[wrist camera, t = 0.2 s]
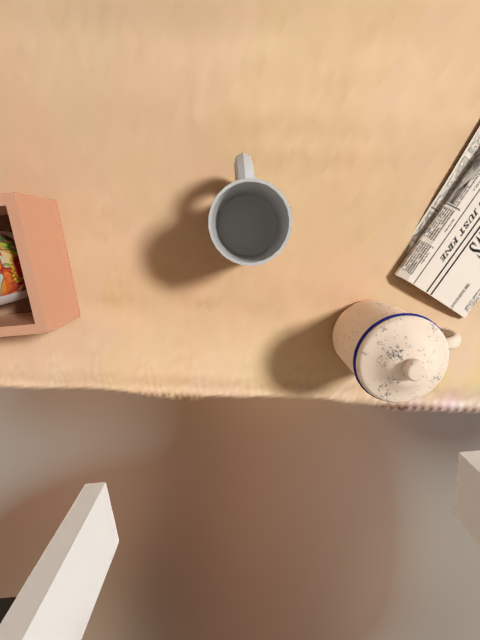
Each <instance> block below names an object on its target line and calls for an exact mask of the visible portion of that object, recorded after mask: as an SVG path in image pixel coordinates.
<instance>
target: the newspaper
mask: <svg viewBox="0 0 480 640" xmlns="http://www.w3.org/2000/svg"><path fill="white" fill-rule="evenodd" d="M394 275H395V276H397V277H399V278H401V279H404V280H406V281H408V282H410V283H411V284H413V285H414V286H416V287H418V288H419V289H421V290H423V291H424V292H426V293H427V294H429V295H430V296H432V297H433V298H435V299H437V300H438V301H440V302H441V303H443V304H444V305H446V306H447V307H449V308H450V309H452V310H453V311H455V312H456V313H458V314H459V315H461V316H462V318H465V317H466V316H467V314H468V313H469V312H470V310H471V309H472V308H473V306H474V305H475V304H476V302H477V301H478V300H479V298H480V126H479V128H478V130H477V131H476V133H475V135H474V136H473V138H472V140H471V141H470V143H469V145H468V146H467V148H466V150H465V151H464V153H463V154H462V156H461V158H460V159H459V161H458V163H457V164H456V166H455V168H454V169H453V171H452V173H451V174H450V176H449V178H448V179H447V181H446V182H445V184H444V186H443V187H442V189H441V191H440V192H439V194H438V195H437V197H436V198H435V200H434V201H433V203H432V204H431V206H430V207H429V209H428V210H427V212H426V213H425V215H424V216H423V218H422V219H421V221H420V222H419V224H418V225H417V227H416V228H415V230H414V233H413V235H412V239H411V242H410V245H409V248H408V251H407V254H406V257H405V259H404V261H403V262H402V264H401V265H400V267H399V268H398V269H397V271H396V272H395V274H394Z"/></svg>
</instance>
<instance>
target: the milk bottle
mask: <svg viewBox="0 0 480 640" xmlns="http://www.w3.org/2000/svg"><path fill="white" fill-rule="evenodd" d="M26 297H28V293H27V289H26V285H25V281H24V276H23V272H22V268H21V264H20V260H19V256H18V252H17V248H16V244H15V240H14V236H13V232H8V231H0V306H1V305H4V304H8V303H11V302H14V301H18V300H21V299H24V298H26Z"/></svg>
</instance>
